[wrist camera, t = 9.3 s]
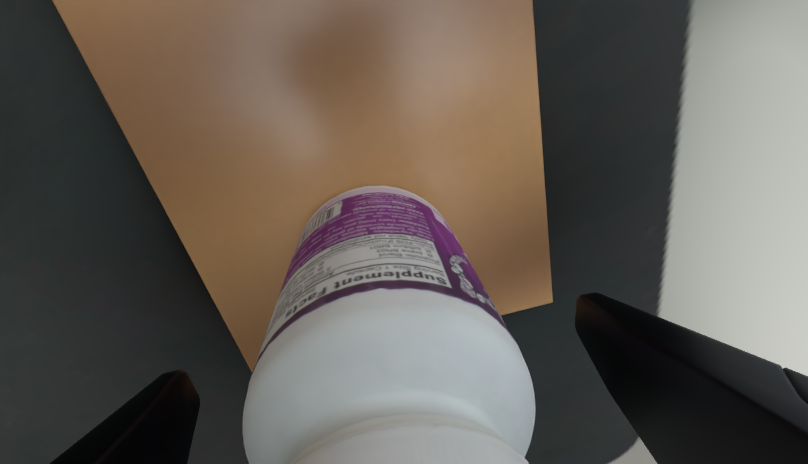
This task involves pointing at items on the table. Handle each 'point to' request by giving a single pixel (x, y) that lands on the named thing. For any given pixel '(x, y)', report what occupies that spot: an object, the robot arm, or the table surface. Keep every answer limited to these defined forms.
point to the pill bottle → (386, 347)
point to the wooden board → (326, 128)
